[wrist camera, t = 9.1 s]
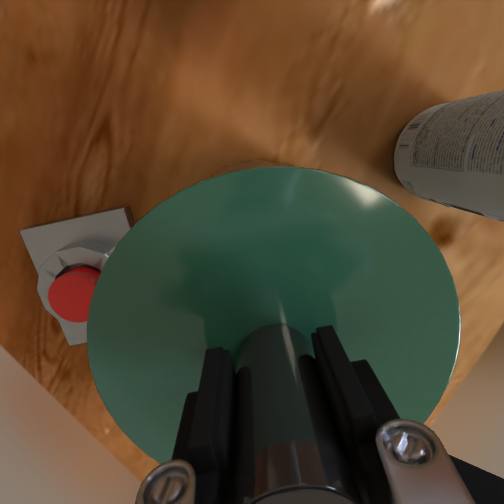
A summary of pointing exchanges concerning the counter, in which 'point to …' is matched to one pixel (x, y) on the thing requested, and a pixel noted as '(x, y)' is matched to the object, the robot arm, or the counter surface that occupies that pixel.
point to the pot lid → (271, 319)
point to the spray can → (456, 155)
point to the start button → (73, 293)
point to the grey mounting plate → (74, 252)
